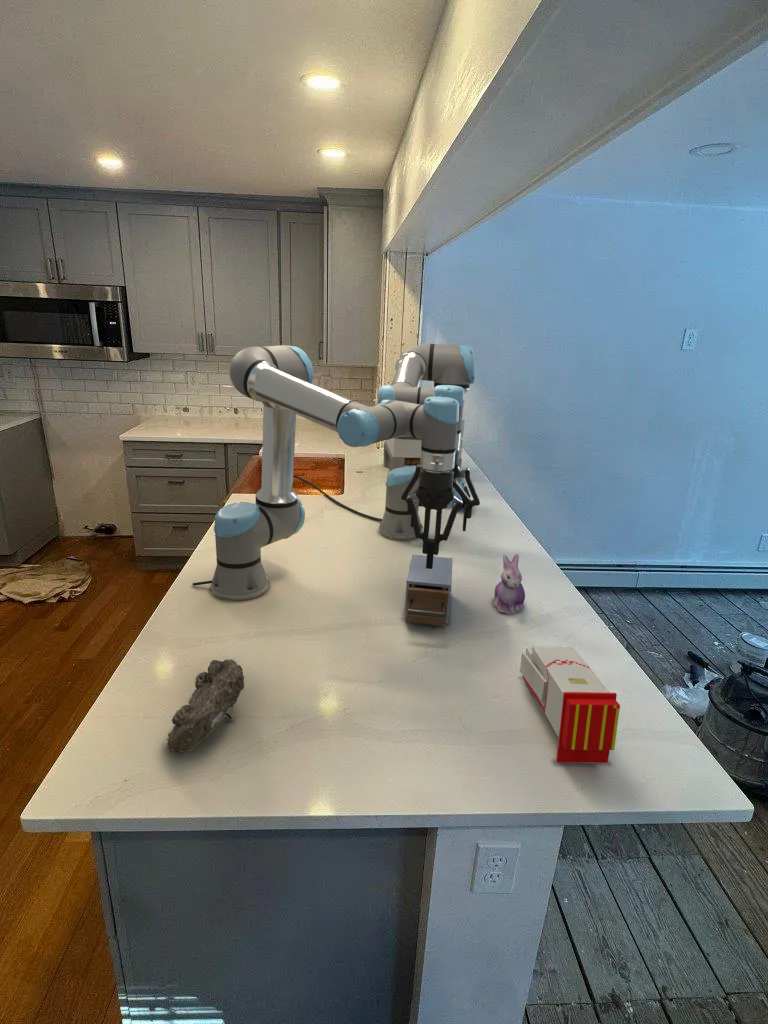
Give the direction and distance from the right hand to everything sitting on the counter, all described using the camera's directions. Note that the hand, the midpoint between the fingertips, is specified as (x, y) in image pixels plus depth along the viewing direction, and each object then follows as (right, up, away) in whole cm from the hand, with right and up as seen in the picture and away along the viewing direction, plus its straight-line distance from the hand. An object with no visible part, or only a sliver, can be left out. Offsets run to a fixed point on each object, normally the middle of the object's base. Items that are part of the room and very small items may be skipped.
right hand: (438, 527), depth 149 cm
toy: (+21, -36, -36) cm, 55 cm away
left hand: (-4, -9, -17) cm, 19 cm away
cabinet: (-2, -21, +3) cm, 22 cm away
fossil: (-47, -35, -41) cm, 72 cm away
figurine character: (+17, +6, +80) cm, 82 cm away
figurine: (+20, -22, +4) cm, 30 cm away
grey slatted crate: (+3, +23, +126) cm, 128 cm away
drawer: (-3, -22, -3) cm, 23 cm away
